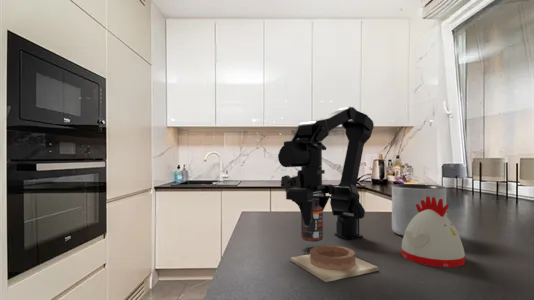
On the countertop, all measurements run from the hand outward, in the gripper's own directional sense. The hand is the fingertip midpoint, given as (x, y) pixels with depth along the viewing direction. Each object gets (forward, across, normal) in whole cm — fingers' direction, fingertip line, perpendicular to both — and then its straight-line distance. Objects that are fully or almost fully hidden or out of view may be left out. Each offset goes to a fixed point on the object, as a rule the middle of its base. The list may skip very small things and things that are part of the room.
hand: (311, 222), depth 85 cm
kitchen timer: (+7, -9, +28) cm, 31 cm away
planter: (+7, -32, +22) cm, 40 cm away
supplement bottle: (+5, 0, 0) cm, 5 cm away
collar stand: (+7, +10, +10) cm, 16 cm away
